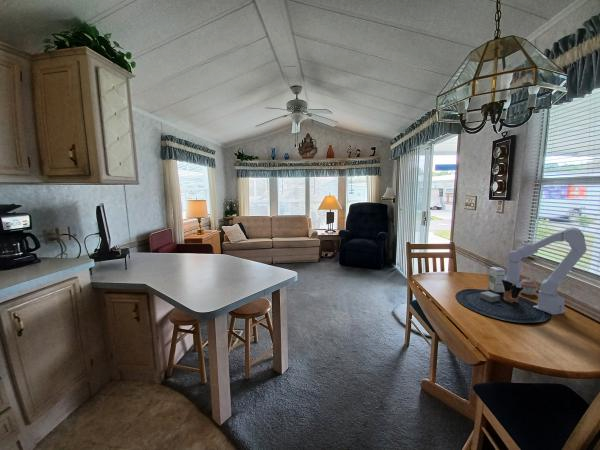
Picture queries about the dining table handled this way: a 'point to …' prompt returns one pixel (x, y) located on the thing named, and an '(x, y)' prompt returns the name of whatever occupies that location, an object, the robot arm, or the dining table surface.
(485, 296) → the slate slab block
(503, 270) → the syrup box
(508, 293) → the terracotta cube
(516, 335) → the dining table surface
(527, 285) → the cupcake
